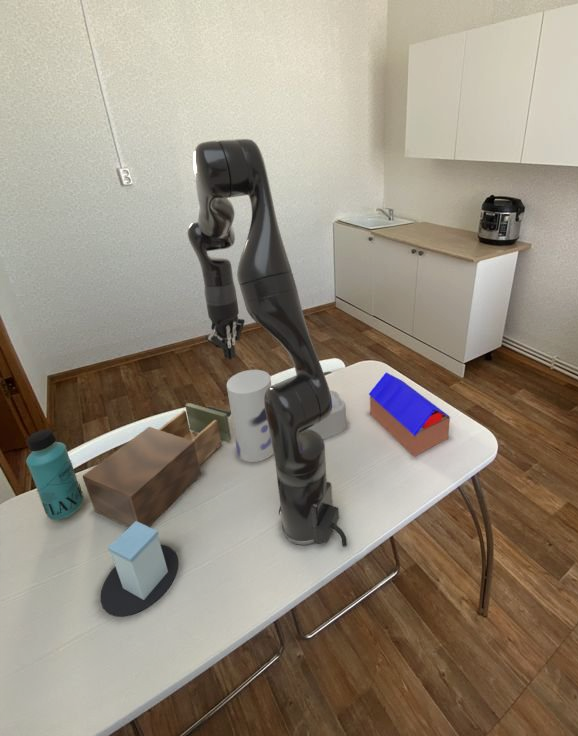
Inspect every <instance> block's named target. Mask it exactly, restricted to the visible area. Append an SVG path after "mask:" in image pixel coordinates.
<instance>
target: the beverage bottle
mask: <svg viewBox="0 0 578 736" xmlns="http://www.w3.org/2000/svg"><path fill="white" fill-rule="evenodd" d="M26 441H27V446H28V447H27V448H28V449H29V451H30V453H29V455H28V456H27V457H26V459H25V463H26V465H27V467H28V469H29V472H30V475H31V477H32V480H33V482H34V485H35V487H36V492H37V493H38V497H39V500H40V503H41V505H42V507H43V511H44V512H45V514H46V517H47V518H49V519H50V520H52V521H59V520H60V521H61V520H63V519H66V518H68V517H70V516H72V515H73V514H75V513H76V512H77V511H78V510H79V509H80V508H81V507H82V505H83V503H84V494H83V491H82V488H81V487H82V486H81V483H79V480H78V478H77V475H76V472H75V468H74V465H73V462H72V460H71V459H70V455H69V452H68V449H67V445H66V444H65V443H63V442H60V441H57V437H56V435H55V434H54V431H53V430H52V429H49V428H48V429H47V428H46V429H40V430H37V431H36V432H34V433H32V434H30V435H29V437H28V438H27V440H26Z"/></svg>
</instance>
